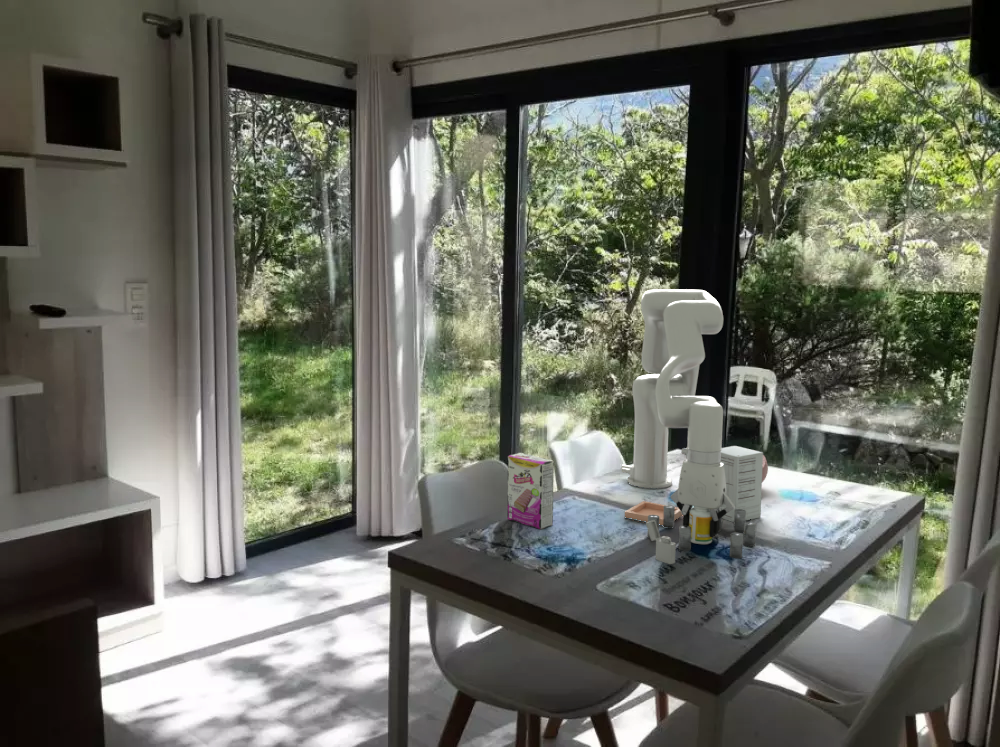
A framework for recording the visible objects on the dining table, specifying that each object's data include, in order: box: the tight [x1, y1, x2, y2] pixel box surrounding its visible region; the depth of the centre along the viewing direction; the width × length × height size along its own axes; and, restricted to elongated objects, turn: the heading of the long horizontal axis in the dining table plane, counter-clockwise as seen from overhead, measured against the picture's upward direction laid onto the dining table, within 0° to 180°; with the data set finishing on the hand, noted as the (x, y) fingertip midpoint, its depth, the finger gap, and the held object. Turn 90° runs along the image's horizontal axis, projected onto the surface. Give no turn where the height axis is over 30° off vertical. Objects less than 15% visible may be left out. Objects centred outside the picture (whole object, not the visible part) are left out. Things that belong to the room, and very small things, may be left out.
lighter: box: [645, 520, 677, 565], centre depth 178 cm, size 7×2×8 cm, turn 40°
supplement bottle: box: [689, 506, 713, 545], centre depth 189 cm, size 5×5×10 cm
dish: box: [624, 500, 683, 525], centre depth 207 cm, size 11×11×2 cm
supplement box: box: [720, 445, 764, 523], centre depth 207 cm, size 10×9×17 cm
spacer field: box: [646, 504, 757, 560], centre depth 191 cm, size 23×22×5 cm
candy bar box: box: [506, 452, 555, 530], centre depth 201 cm, size 11×5×16 cm, turn 47°
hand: (700, 532), depth 189 cm, fingers closed on supplement bottle, 5 cm apart
